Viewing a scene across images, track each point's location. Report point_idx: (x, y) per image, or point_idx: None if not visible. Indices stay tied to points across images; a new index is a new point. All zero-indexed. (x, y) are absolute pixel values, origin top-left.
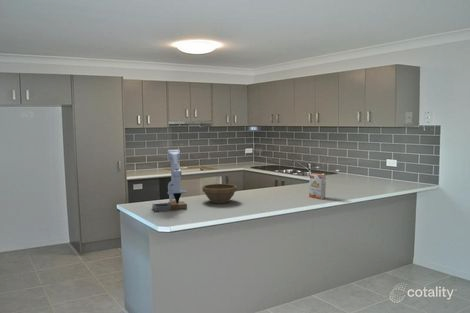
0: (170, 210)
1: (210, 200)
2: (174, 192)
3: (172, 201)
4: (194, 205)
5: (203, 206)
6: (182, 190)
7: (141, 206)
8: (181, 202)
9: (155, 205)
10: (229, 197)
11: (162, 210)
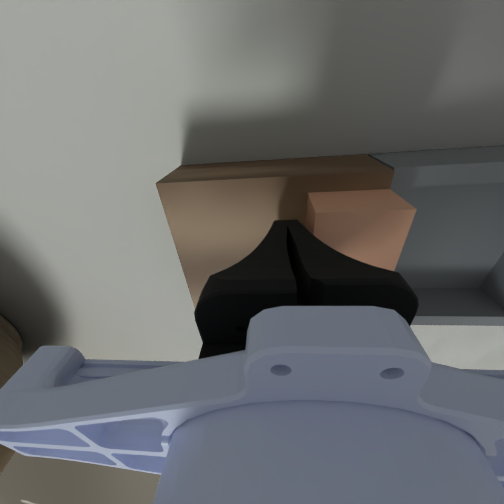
0: (380, 153)
1: (6, 333)
2: (500, 394)
3: (380, 230)
4: (119, 283)
5: (30, 231)
6: (125, 467)
7: (500, 359)
8: None
9: (481, 305)
10: None
11: (496, 149)
